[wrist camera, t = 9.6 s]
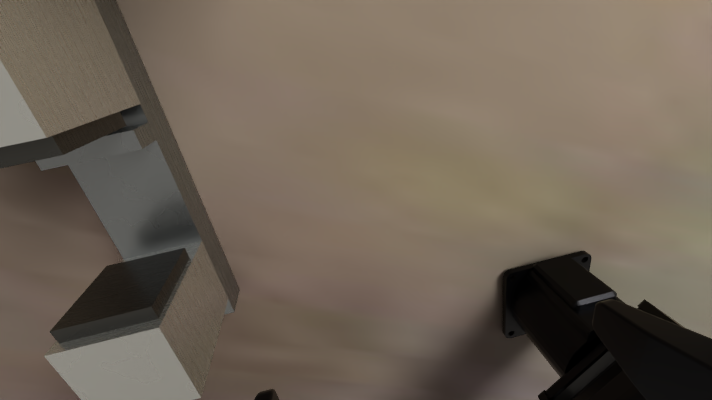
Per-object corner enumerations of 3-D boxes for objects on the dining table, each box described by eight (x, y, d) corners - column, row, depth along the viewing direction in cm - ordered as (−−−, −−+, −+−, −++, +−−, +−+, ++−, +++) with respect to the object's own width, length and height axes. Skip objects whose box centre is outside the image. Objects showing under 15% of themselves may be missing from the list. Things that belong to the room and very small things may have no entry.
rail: (239, 289, 21) (210, 412, 14) (176, 305, 21) (113, 438, 14) (93, -52, 14) (-135, -162, 6) (-9, -34, 13) (-366, -127, 6)
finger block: (147, 117, 15) (59, 159, 9) (52, 137, 14) (-95, 191, 9) (92, -4, 13) (-60, -41, 7) (-19, 16, 12) (-261, -6, 7)
